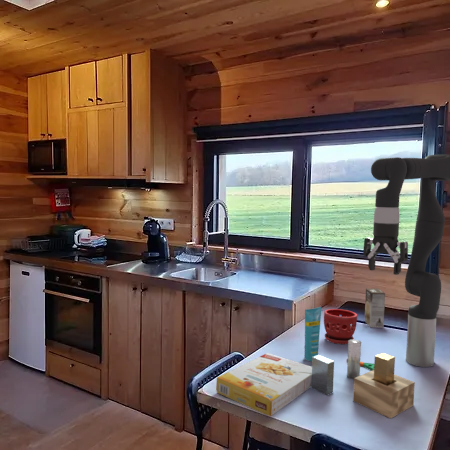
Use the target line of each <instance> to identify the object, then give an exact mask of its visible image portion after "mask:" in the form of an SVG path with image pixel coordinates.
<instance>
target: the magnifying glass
mask: <svg viewBox="0 0 450 450" xmlns="http://www.w3.org/2000/svg"><path fill="white" fill-rule="evenodd" d="M346 363H348V357H347V359H346ZM360 367H364V368H365V367H366V369H367V368H368V370H369V369H370V371H371V370H374V363H370V362H363V361H360Z"/></svg>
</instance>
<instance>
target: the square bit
mask: <svg viewBox="0 0 450 450" xmlns="http://www.w3.org/2000/svg"><path fill="white" fill-rule="evenodd" d="M395 363H396V357H395V356H393V355H390V354H388V353H384V352H380V353H378V354H376V355H374V363H373V364H374V381H376V382H379V383H381V384H384V385H386V386H388V385H390V384H392V383H394V375H395Z"/></svg>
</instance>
